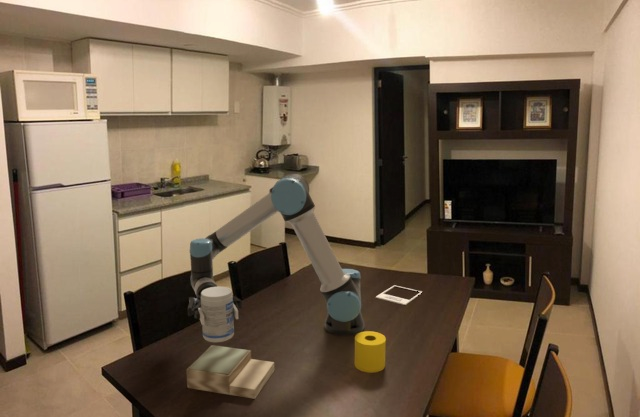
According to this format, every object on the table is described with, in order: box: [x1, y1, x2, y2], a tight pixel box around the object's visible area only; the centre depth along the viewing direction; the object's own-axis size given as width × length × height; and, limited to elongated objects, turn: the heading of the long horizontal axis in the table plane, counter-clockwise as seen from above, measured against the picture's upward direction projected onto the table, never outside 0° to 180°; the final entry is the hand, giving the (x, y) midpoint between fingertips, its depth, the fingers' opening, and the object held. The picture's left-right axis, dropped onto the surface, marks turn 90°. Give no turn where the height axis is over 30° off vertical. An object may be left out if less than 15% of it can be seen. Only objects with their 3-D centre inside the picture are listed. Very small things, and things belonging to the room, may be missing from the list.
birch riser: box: [185, 344, 275, 400], centre depth 149 cm, size 22×16×6 cm
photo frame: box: [375, 284, 423, 306], centre depth 218 cm, size 15×1×18 cm
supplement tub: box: [201, 285, 235, 343], centre depth 147 cm, size 10×10×15 cm
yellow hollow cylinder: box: [354, 330, 387, 373], centre depth 157 cm, size 10×10×9 cm
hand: (220, 317), depth 142 cm, fingers closed on supplement tub, 9 cm apart
